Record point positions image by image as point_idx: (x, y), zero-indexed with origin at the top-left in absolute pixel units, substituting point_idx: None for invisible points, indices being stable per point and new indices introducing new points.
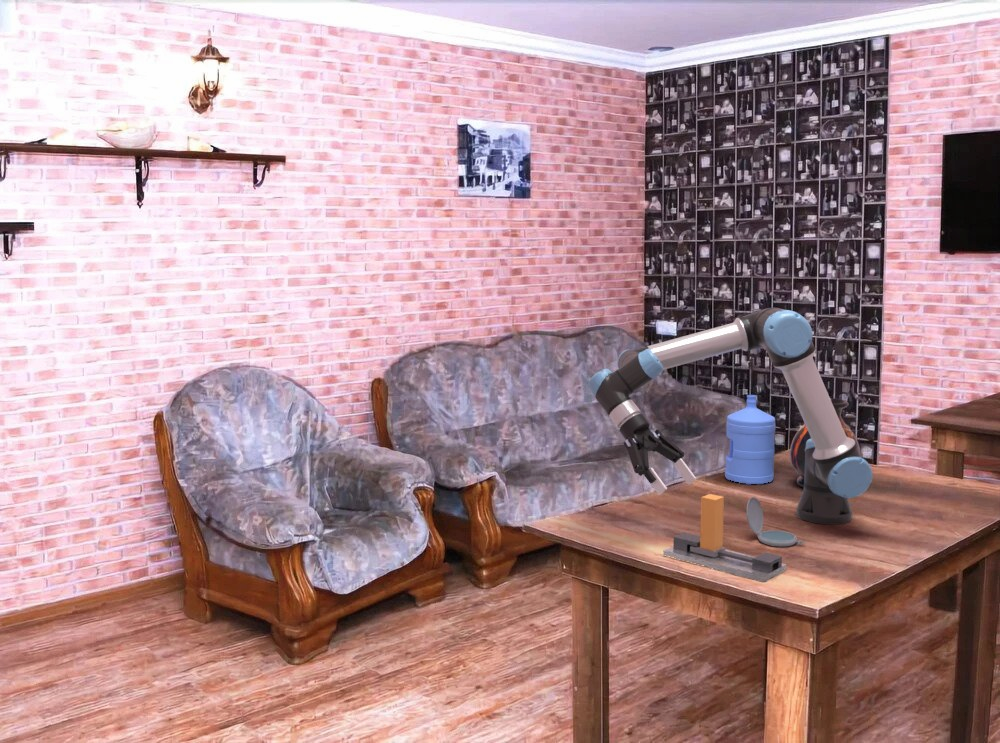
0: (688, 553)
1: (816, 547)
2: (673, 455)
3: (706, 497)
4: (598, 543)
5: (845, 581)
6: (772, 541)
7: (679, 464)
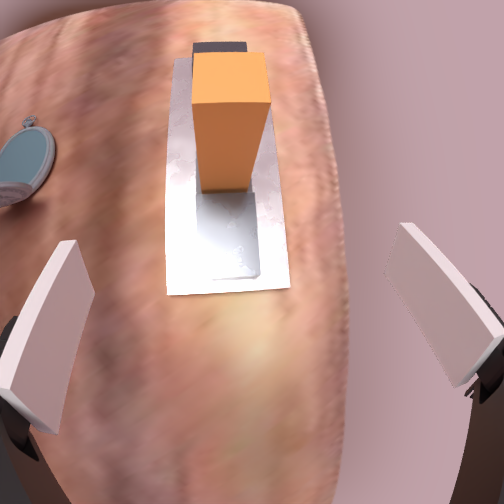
0: (262, 223)
1: (29, 106)
2: (22, 465)
3: (257, 87)
4: (322, 454)
5: (168, 13)
6: (50, 147)
7: (40, 380)
